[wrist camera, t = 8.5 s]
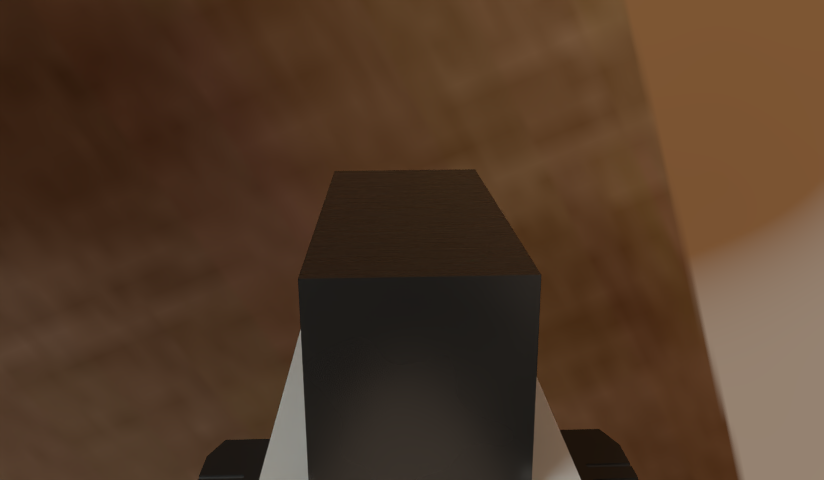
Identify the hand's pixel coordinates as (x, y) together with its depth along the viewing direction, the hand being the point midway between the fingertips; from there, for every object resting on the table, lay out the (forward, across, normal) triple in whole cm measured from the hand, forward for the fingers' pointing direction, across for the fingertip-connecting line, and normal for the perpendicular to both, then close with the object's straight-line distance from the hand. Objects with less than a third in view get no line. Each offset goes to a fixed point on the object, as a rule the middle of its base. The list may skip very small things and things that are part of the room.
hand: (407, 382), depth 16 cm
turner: (+1, 0, -6) cm, 6 cm away
